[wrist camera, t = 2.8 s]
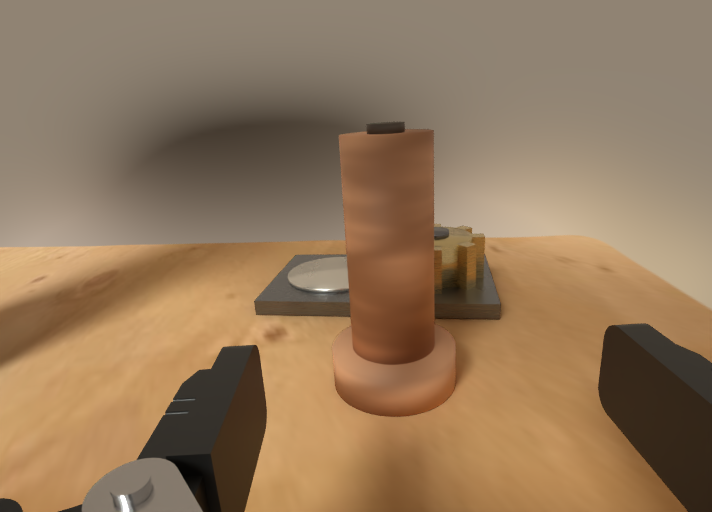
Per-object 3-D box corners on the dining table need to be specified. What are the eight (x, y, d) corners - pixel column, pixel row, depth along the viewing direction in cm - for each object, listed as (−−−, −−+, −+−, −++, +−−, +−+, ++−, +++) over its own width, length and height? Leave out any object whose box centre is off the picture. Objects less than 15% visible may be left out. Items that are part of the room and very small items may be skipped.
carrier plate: (256, 314, 32) (253, 296, 31) (296, 265, 41) (295, 251, 41) (500, 318, 29) (501, 299, 29) (484, 265, 38) (484, 250, 38)
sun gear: (383, 293, 31) (381, 244, 30) (392, 260, 38) (391, 219, 37) (488, 294, 30) (489, 244, 29) (478, 260, 37) (479, 218, 36)
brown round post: (323, 412, 21) (297, 131, 17) (346, 347, 27) (330, 123, 23) (458, 420, 20) (462, 122, 16) (453, 350, 26) (455, 116, 22)
